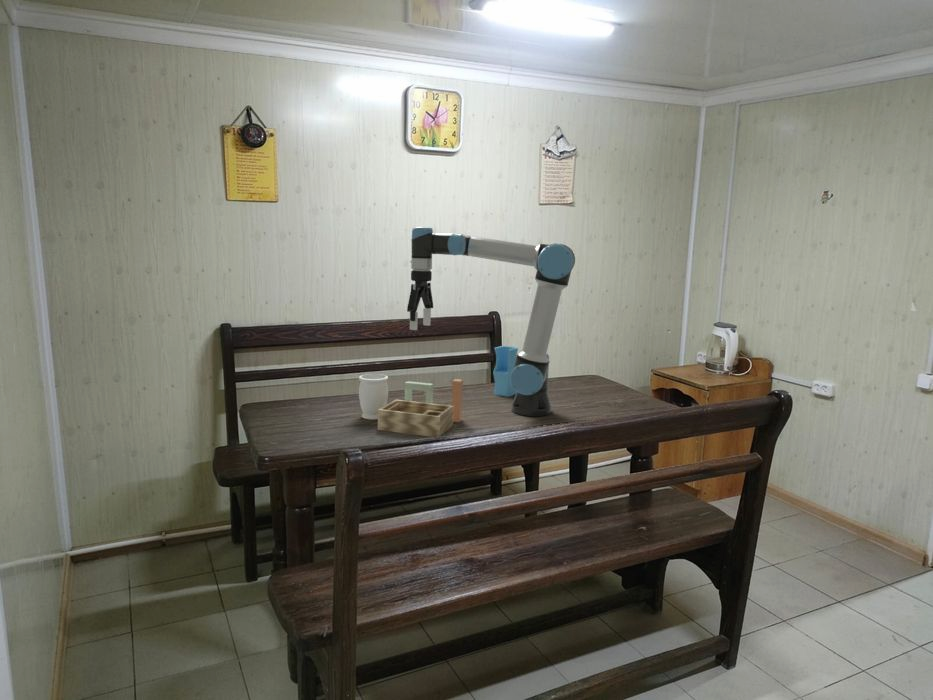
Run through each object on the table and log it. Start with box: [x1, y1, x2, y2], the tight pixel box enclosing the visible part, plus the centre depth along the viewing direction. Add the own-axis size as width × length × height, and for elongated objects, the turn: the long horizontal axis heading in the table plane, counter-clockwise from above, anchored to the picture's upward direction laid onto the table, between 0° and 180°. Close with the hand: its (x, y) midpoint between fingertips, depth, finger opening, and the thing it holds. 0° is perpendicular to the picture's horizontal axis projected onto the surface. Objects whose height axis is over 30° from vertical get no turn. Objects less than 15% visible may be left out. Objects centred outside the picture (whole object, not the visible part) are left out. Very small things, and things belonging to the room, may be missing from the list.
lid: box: [404, 381, 434, 404], centre depth 238 cm, size 19×12×10 cm, turn 73°
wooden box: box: [377, 399, 454, 438], centre depth 217 cm, size 22×15×7 cm
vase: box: [492, 345, 519, 398], centre depth 268 cm, size 8×8×20 cm
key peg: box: [451, 378, 464, 423], centre depth 226 cm, size 3×3×15 cm
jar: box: [358, 373, 389, 421], centre depth 228 cm, size 11×10×15 cm
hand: (420, 327), depth 234 cm, fingers open, 13 cm apart
